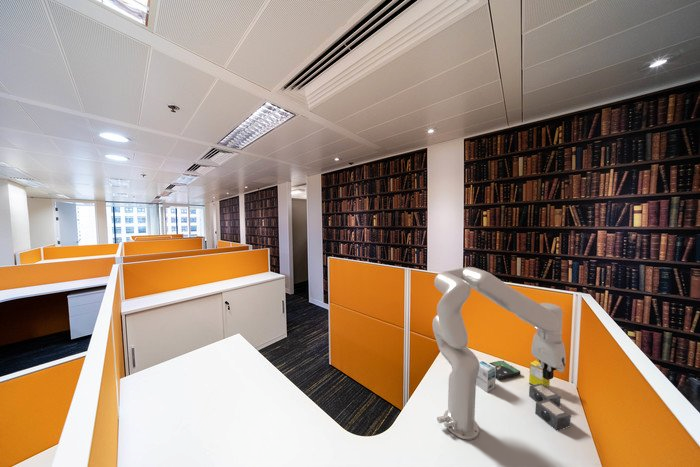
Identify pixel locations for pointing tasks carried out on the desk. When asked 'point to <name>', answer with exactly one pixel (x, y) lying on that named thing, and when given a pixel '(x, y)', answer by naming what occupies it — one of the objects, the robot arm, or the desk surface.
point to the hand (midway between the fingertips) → (547, 377)
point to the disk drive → (504, 370)
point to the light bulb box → (486, 375)
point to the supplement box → (537, 374)
